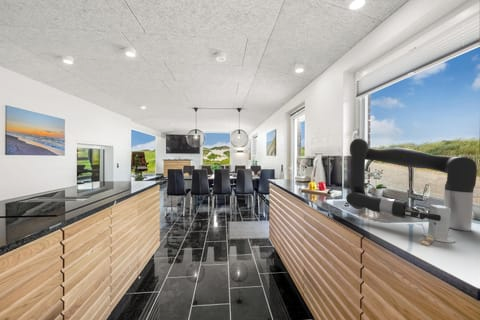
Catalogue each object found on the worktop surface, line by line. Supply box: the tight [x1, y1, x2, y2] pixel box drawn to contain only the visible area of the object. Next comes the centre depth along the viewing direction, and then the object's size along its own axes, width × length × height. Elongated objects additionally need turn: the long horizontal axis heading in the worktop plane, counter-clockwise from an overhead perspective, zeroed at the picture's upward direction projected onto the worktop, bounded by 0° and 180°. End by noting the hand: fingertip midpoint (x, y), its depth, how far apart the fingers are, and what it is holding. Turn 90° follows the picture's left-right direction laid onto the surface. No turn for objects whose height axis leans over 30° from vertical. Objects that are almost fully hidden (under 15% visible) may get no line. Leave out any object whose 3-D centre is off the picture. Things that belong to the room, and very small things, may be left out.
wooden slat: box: [420, 237, 436, 247], centre depth 78 cm, size 10×2×1 cm, turn 127°
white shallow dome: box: [423, 231, 456, 244], centre depth 82 cm, size 9×9×1 cm
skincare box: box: [427, 204, 451, 239], centre depth 82 cm, size 6×4×12 cm
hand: (442, 216), depth 82 cm, fingers open, 8 cm apart
